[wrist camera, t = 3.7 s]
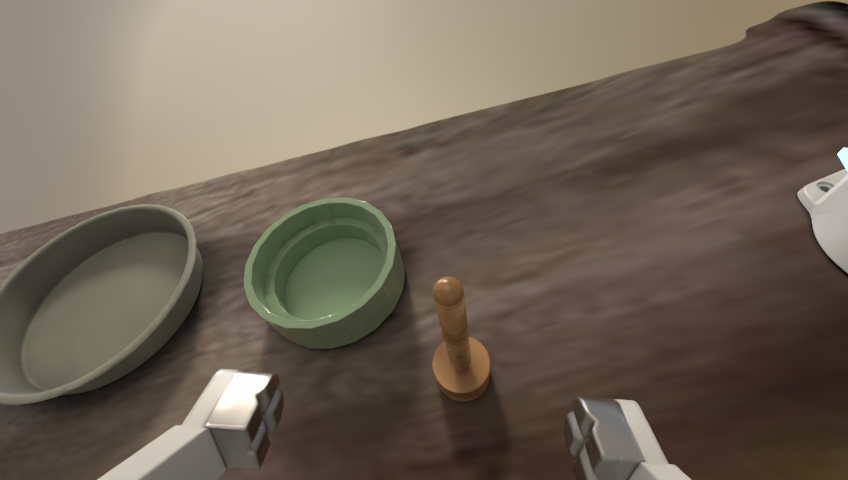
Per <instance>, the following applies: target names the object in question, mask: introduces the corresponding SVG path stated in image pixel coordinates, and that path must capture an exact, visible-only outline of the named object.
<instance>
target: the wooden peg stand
mask: <svg viewBox="0 0 848 480" xmlns="http://www.w3.org/2000/svg"><path fill="white" fill-rule="evenodd" d="M433 298H434V302H435V306H436V309H437V313H438V317H439V321H440V325H441V329H442V333H443V337H444V341H443V342H442V343H441V344H440V345H439V346H438V348H437V349H436V351H435V353H434V356H433V361H432V366H433V372H434V375H435V378H436V380H437V383H438V385H439V387H440V389H441V390H442V392H443V393H444V394H445V395H447V396H448V397H449V398H451V399H453V400H456V401H461V402H466V401H471V400H474V399H476V398H478V397H479V396H480V395H482V394H483V392H484V391H485V390H486V388H487V386H488V384H489V380H490V359H489V355H488V353H487V351H486V349H485V348H484V346H483V345H482V344H481V343H480V342H479V341H477V340H476V339H474V338H471V337H469V336H468V327H467V318H466V309H465V299H464V290H463V287H462V284H461V283H460V282H459V281H458V280H457V279H456V278H453V277H448V276H447V277H442V278H440V279H439V280H438V281H437V282H436V283H435V284H434V287H433Z"/></svg>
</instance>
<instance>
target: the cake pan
mask: <svg viewBox="0 0 848 480" xmlns="http://www.w3.org/2000/svg"><path fill="white" fill-rule="evenodd" d="M202 278H203V262H202V258H201V254H200V252H199V250H198V249H197V247H196V237H195V233H194V230H193V227H192V225H191V224H190V222H189V221H188V220H187V219H186V218H185V217H184V216H183V215H182V214H181V213H179V212H177V211H176V210H173V209H171V208H168V207H165V206H160V205H134V206H127V207H123V208H118V209H115V210H111V211H108V212H105V213H102V214H100V215H97V216H94V217H92V218H90V219H88V220H85V221H83V222H81V223H79V224H77V225H75V226H74V227H72V228H70V229H68V230H66V231H65V232H63V233H61V234H60V235H58V236H57V237H55V238H54V239H52V240H51V241H49V242H48V243H46V244H45V245H44V246H42V247H41V248H40V249H38V250H37V251H36V252H34V253H33V254H32V255H31V256H30V257H28V258H27V259H26V260H25V261H24V262H23V263H22V264H21V265H19V266H18V267H17V268H16V269H15V270H14V271H13V272H12V273H11V274H10V275H9V276H8V277H7V278H6V279H5V281H4V282H3V283H2V284H1V285H0V404H5V405H21V404H29V403H35V402H39V401H44V400H47V399H51V398H54V397H57V396H60V395H71V394H78V393H83V392H87V391H91V390H94V389H97V388H100V387H102V386H105V385H107V384H109V383H111V382H114V381H116V380H118V379H119V378H121V377H123V376H125V375H126V374H128V373H130V372H131V371H133V370H134V369H136V368H137V367H139V366H140V365H142V364H143V363H144V362H146V361H147V360H148V359H149V358H150V357H152V356H153V355H154V354H155V353H156V352H157V351H158V350H159V349H161V348H162V347H163V346H164V345H165V344H166V343H167V342H168V340H169V339H170V338H171V337H172V336H173V335H174V334H175V332H176V331H177V330H178V329H179V328H180V326H181V325H182V323H183V322H184V320H185V319H186V317H187V316H188V314H189V313H190V311H191V309H192V307H193V305H194V303H195V301H196V299H197V296H198V294H199V291H200V287H201V283H202Z"/></svg>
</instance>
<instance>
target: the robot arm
mask: <svg viewBox="0 0 848 480" xmlns="http://www.w3.org/2000/svg"><path fill="white" fill-rule="evenodd" d="M838 156H839V158H840V159H841V161H842V163H843V164H844V166H845V168H846V169H844V170H842V171H839V172H837V173H834V174H832V175H830V176H827V177H825V178H822V179H820V180H817V181H815V182H813V183H810V184H808V185H806V186H805V187H803V188H802V189H801V190H800V191H798V193H797V196H798V198H799V200H800V202H801V203H802V204H803V206H804V207H805V208H806V209H807V211H808V212H809V213H810V216H811V219H812V226H813V231H814V234H815V237H816V239H817V241H818V243H819V244H820V246H821V247H822V249H823V250H824V251H825V253H826V254H827V255H828V256H829V257H830V258H831V259H832V260H833V261H834V262H835V263H836V264H837V265H838V266H839V267H840V268H841V269H843V270H844V271H845V272H846V273H848V148H843V149H842V150H841V151H840V152H839V153H838ZM279 383H280V380H279V377H278V374H272V373H262V372H251V371H241V370H230V369H220V370H219V371H218V372H217V373H215V374H214V376H213V377H212V379H211V380H210V382H209V384H208V385H207V387H206V388H205V390H204V391H203V393H202V394H201V396H200V397H199V399H198V400H197V402H196V403H195V405H194V407H193V408H192V410H191V411H190V413H189V414H188V416H187V417H186V419H185V420H184V422H183V423H182V425H175V426H174V427H172V428H171V429H169V430H168V431H166V432H165V433H164V434H162V435H161V436H159V437H158V438H156V439H155V440H153V441H152V442H151V443H149V444H148V445H146V446H145V447H143V448H142V449H141V450H139V451H138V452H136V453H135V454H133V455H132V456H131V457H129V458H128V459H126V460H125V461H123V462H122V463H120V464H119V465H118V466H116V467H115V468H113V469H112V470H110V471H109V472H108V473H106V474H105V475H103V476H102V477H100V478H99V479H98V480H218V479H219V478H220V477H221V476H222V475H223V474H224V473H225V472H226V471H227V469H226V468H232V469H252V470H260V467H261V465H262V463H263V460H264V458H265V455H266V453H267V451H268V448H269V446H270V442H269V438H268V435H269V434H270V433H271V432H272V431H274V430H275V429H276V428H277V426H278V424H279V421H280V419H281V415H282V411H283V406H284V397H283V393H282V391H280V390H279V389H278V388H277V387H278V385H279ZM572 407H573V410H574V411H572V412H570V413H569V414H567V416H566V419H565V422H564V436H565V442H566V445H567V449H568V451H569V452H570V454H571V455H572V456H573V457H574V458H575V459H576V462H575V464H574V467H573V470H574V474H575V477H576V480H691V479H690V478H689V477H688V476H687V475H686V474H684V473H683V472H682V471H681V470H680V469H679V468H678V467H677V466H676V465H671V464H669V463H668V461H667V459H666V457H665V456H664V454H663V452H662V450H661V448H660V446H659V444H658V442H657V440H656V438H655V436H654V434H653V432H652V430H651V428H650V426H649V424H648V422H647V420H646V418H645V416H644V414H643V412H642V410H641V408H640V406H639V405H638V404H637V403H636V402H635V401H632V400H617V399H612V398H596V397H579V396H577V397H576V398H574V400H573V402H572Z"/></svg>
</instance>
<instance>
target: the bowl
mask: <svg viewBox="0 0 848 480" xmlns="http://www.w3.org/2000/svg"><path fill="white" fill-rule="evenodd" d="M404 278H405V267H404V263H403V259H402V255H401V251H400V248H399V245H398V242H397V239H396V237H395V234H394V231H393V228H392V225H391V224H390V223H389V221H388V220H387V219H386V217H385V216H384V215H383V213H382V212H381V211H380V210H378V209H376V208H375V207H373V206H371V205H370V204H368V203H366V202H363V201H359V200H355V199H350V198H325V199H322V200H318V201H314V202H311V203H307V204H305V205H303V206H301V207H299V208H297V209H295V210H293V211H291V212H289V213H287V214H285V215H284V216H283V217H281V218H280V219H279V220H278V221H276V222H275V223H274V224H273V225H271V226H270V227H269V228H268V229H267V230H266V231H265V232H264V234H263V235H262V236H261V237H260V239H259V240H258V241H257V243H256V244H255V245H254V247H253V249H252V251H251V254H250V256H249V258H248V261H247V263H246V265H245V275H244V289H245V292H246V295H247V298H248V301H249V304H250V306H251V307H252V308H253V309H254V310H255V311H256V312H257V313H258V314H259V315H260V316H261V317H262V318H263V319H264V320H265V321H266V322H267V323H268V324H270V325H271V326H272V327H273V328H274V329H276V330H277V331H278V332H279V333H280V334H282V335H283V336H284V337H285V338H286V339H287V340H289V341H291V342H294V343H296V344H299V345H301V346H304V347H306V348H318V349H333V348H336V347H340V346H343V345H347V344H350V343H354V342H356V341H358V340H359V339H361V338H362V337H364V336H366V335H367V334H369V333H371V332H372V331H374V330H375V329H377V328H378V327H379V326H380V324H381V323H382V322H383V321H384V320H385V319H386V318H387V317H388V316H389V315H390V313H391V312H392V311H393V310H394V308H395V306H396V304H397V302H398V300H399V297H400V295H401V293H402V291H403V286H404Z"/></svg>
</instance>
